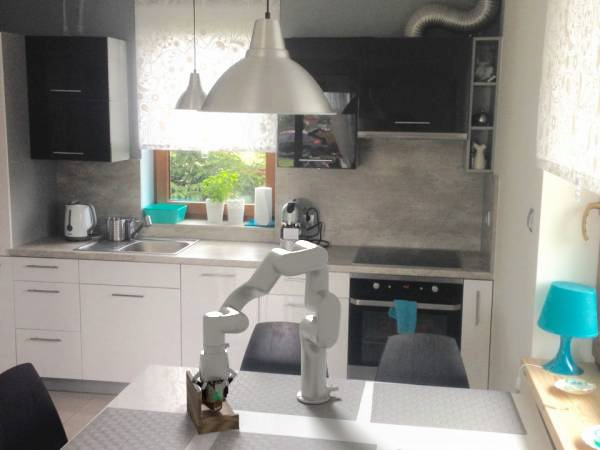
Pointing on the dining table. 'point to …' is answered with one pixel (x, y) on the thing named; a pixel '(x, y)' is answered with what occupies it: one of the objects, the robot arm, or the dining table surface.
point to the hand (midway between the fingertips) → (214, 397)
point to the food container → (214, 395)
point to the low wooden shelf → (208, 411)
